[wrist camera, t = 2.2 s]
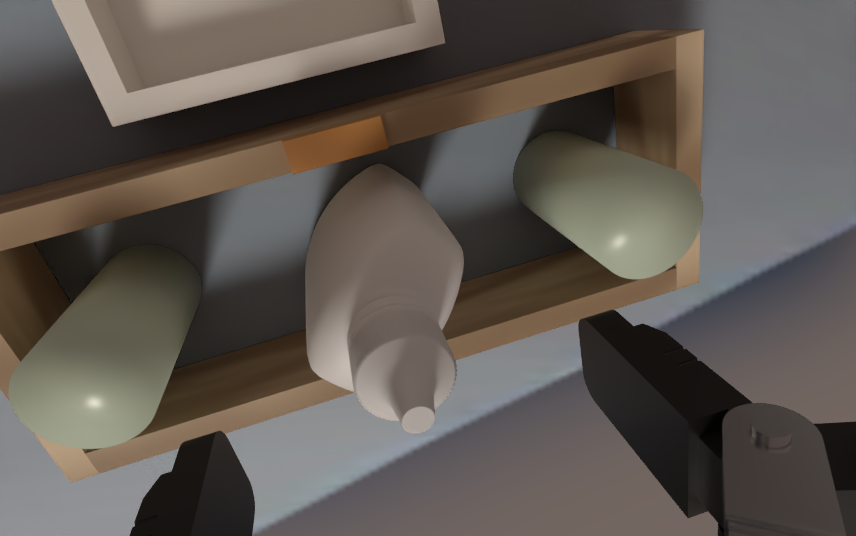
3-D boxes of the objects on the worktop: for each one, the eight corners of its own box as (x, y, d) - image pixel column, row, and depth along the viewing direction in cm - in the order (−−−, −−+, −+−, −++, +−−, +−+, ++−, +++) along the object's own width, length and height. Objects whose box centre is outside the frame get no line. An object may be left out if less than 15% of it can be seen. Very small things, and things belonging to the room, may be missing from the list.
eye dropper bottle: (442, 239, 22) (571, 425, 12) (327, 300, 22) (348, 544, 12) (397, 148, 20) (502, 272, 10) (271, 215, 20) (234, 413, 10)
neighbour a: (83, 260, 19) (-22, 365, 13) (179, 233, 20) (121, 323, 14) (128, 337, 21) (53, 464, 15) (215, 311, 21) (179, 425, 15)
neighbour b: (507, 142, 21) (592, 186, 15) (588, 120, 22) (704, 154, 15) (519, 223, 23) (600, 293, 16) (594, 200, 23) (701, 261, 17)
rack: (-27, 202, 18) (-118, 246, 14) (634, 30, 20) (710, 28, 17) (108, 410, 22) (67, 489, 18) (641, 247, 25) (704, 285, 21)
